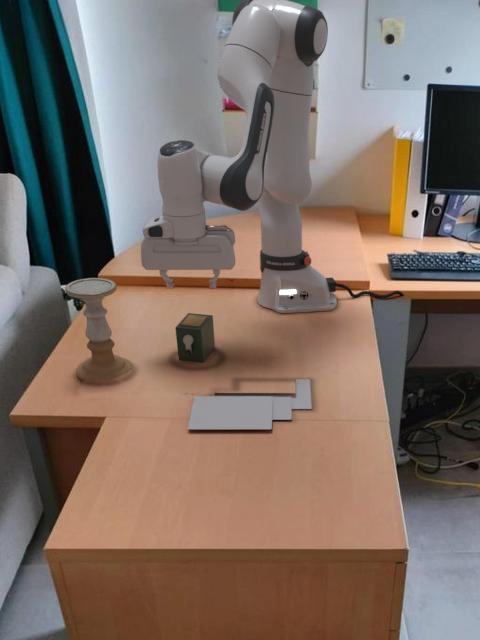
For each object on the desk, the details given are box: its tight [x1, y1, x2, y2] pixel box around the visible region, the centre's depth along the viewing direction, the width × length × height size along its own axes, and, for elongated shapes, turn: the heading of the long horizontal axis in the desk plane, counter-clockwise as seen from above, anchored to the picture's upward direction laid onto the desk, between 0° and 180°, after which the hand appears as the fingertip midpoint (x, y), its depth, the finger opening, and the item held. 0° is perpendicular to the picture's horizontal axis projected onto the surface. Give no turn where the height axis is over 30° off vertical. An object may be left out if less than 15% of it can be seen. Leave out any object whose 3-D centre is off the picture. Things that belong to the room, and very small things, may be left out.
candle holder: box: [64, 277, 133, 382], centre depth 157 cm, size 12×12×20 cm
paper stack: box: [186, 378, 313, 431], centre depth 153 cm, size 23×25×1 cm
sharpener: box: [174, 312, 216, 363], centre depth 167 cm, size 12×6×8 cm, turn 172°
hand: (192, 288), depth 162 cm, fingers open, 8 cm apart
